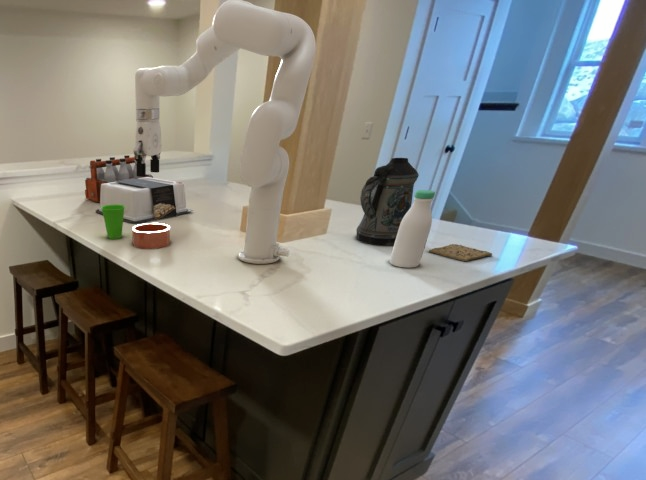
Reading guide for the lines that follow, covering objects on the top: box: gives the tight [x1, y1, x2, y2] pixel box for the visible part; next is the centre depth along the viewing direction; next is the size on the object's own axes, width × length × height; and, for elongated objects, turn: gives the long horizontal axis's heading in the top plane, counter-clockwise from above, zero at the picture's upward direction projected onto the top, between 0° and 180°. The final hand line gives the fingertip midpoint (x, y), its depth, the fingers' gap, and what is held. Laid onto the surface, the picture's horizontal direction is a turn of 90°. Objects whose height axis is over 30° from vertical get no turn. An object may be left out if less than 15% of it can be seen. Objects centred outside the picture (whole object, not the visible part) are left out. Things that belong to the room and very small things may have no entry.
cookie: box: [428, 243, 493, 262], centre depth 136 cm, size 12×12×1 cm
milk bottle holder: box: [84, 155, 154, 203], centre depth 231 cm, size 21×35×19 cm, turn 127°
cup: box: [101, 204, 125, 240], centre depth 166 cm, size 9×9×11 cm
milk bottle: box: [389, 189, 436, 268], centre depth 125 cm, size 8×8×20 cm
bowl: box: [131, 222, 171, 250], centre depth 159 cm, size 13×13×6 cm
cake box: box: [95, 177, 194, 224], centre depth 201 cm, size 35×33×12 cm
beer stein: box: [355, 157, 420, 247], centre depth 145 cm, size 16×19×25 cm
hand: (148, 174), depth 151 cm, fingers open, 9 cm apart
